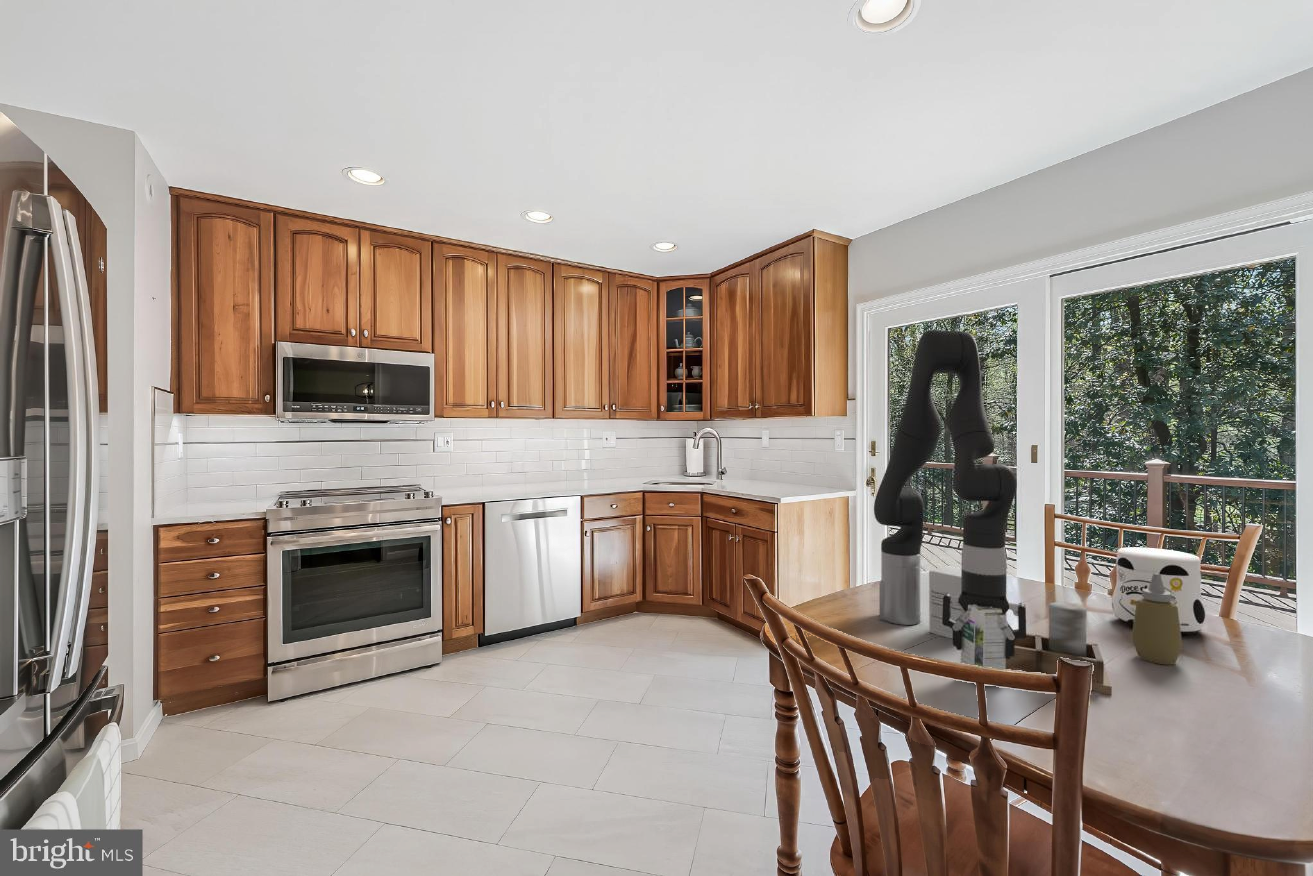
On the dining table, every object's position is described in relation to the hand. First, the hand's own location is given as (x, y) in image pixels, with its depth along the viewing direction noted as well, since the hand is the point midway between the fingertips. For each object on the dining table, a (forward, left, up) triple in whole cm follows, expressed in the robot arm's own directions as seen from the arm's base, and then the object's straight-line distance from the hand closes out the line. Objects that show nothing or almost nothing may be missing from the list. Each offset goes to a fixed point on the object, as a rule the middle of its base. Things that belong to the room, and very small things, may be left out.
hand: (983, 653), depth 111 cm
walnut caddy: (+9, +12, -5) cm, 16 cm away
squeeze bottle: (+30, +31, -6) cm, 43 cm away
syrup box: (0, 0, -5) cm, 5 cm away
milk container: (+34, +57, -6) cm, 67 cm away
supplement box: (-7, +27, -6) cm, 28 cm away
